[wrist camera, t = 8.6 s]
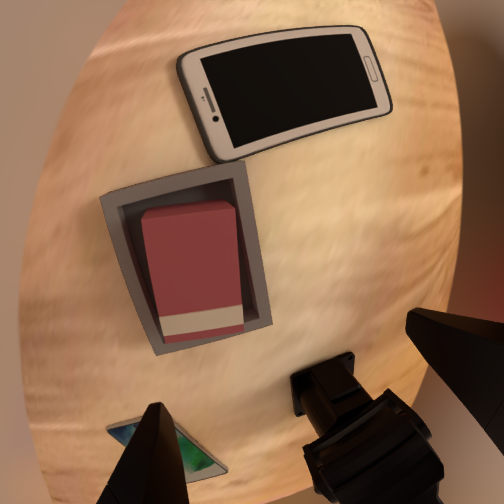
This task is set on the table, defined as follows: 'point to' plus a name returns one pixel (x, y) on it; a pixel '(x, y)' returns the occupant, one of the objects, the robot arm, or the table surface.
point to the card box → (194, 269)
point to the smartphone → (193, 454)
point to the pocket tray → (175, 192)
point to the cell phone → (281, 87)
